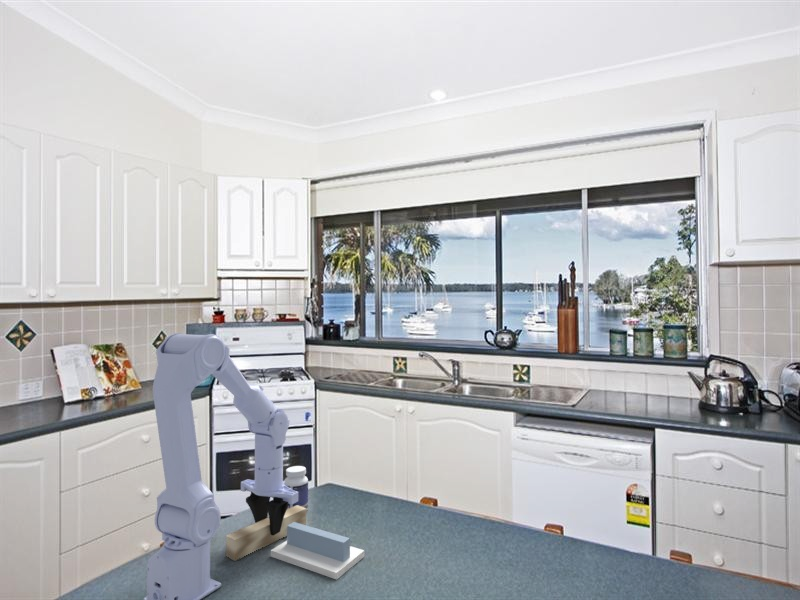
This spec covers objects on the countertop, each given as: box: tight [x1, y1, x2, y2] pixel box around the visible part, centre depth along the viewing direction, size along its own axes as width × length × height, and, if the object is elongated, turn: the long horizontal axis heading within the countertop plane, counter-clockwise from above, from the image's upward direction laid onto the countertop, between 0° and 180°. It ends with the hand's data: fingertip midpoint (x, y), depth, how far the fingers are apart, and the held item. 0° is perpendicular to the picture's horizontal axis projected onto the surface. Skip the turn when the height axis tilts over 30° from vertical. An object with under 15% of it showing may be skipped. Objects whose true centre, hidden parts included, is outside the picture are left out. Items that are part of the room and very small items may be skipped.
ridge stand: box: [270, 522, 366, 580], centre depth 93 cm, size 9×16×5 cm, turn 61°
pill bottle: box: [283, 465, 309, 512], centre depth 114 cm, size 6×6×10 cm
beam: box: [225, 505, 307, 562], centre depth 99 cm, size 18×3×4 cm, turn 143°
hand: (268, 531), depth 99 cm, fingers closed on beam, 3 cm apart
